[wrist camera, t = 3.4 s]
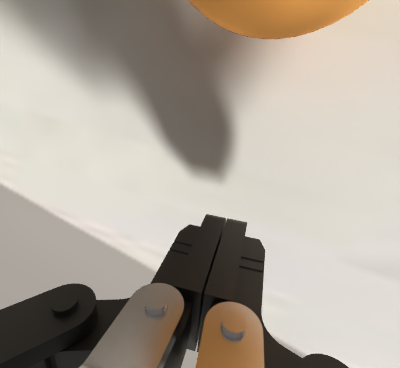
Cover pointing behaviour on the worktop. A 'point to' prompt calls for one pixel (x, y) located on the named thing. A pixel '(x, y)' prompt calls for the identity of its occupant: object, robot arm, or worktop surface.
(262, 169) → the worktop surface
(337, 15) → the ball
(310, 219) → the worktop surface
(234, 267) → the robot arm
